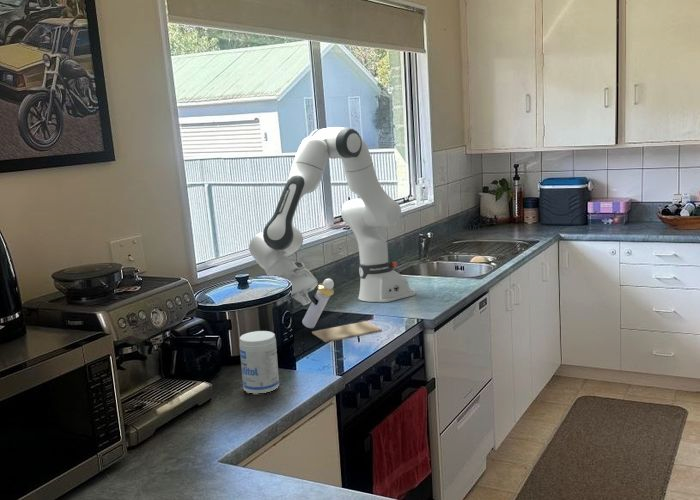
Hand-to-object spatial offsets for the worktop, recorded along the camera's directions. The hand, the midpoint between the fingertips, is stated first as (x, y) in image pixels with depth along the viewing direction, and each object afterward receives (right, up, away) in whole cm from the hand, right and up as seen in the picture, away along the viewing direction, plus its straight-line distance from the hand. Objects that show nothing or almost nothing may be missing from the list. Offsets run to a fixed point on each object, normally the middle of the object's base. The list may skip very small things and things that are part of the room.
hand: (307, 303), depth 233 cm
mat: (+13, -9, -4) cm, 16 cm away
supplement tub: (-9, -19, -49) cm, 53 cm away
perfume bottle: (0, -8, +2) cm, 8 cm away
